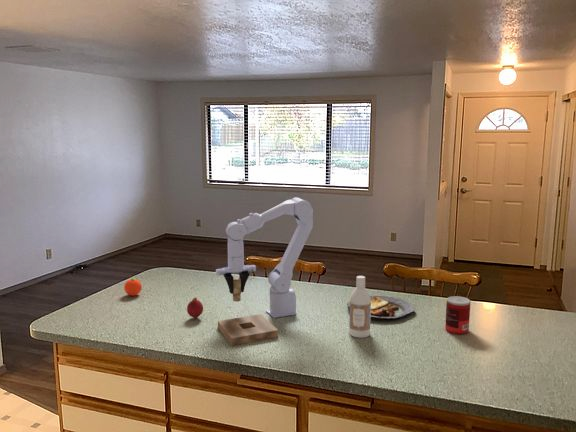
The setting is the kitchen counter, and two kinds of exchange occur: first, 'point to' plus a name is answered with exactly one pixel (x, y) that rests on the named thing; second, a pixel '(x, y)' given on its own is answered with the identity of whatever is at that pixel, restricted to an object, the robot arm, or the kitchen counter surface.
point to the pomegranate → (195, 308)
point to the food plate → (388, 307)
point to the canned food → (457, 315)
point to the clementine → (132, 287)
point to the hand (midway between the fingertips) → (236, 292)
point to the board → (247, 329)
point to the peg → (236, 289)
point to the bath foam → (360, 310)
